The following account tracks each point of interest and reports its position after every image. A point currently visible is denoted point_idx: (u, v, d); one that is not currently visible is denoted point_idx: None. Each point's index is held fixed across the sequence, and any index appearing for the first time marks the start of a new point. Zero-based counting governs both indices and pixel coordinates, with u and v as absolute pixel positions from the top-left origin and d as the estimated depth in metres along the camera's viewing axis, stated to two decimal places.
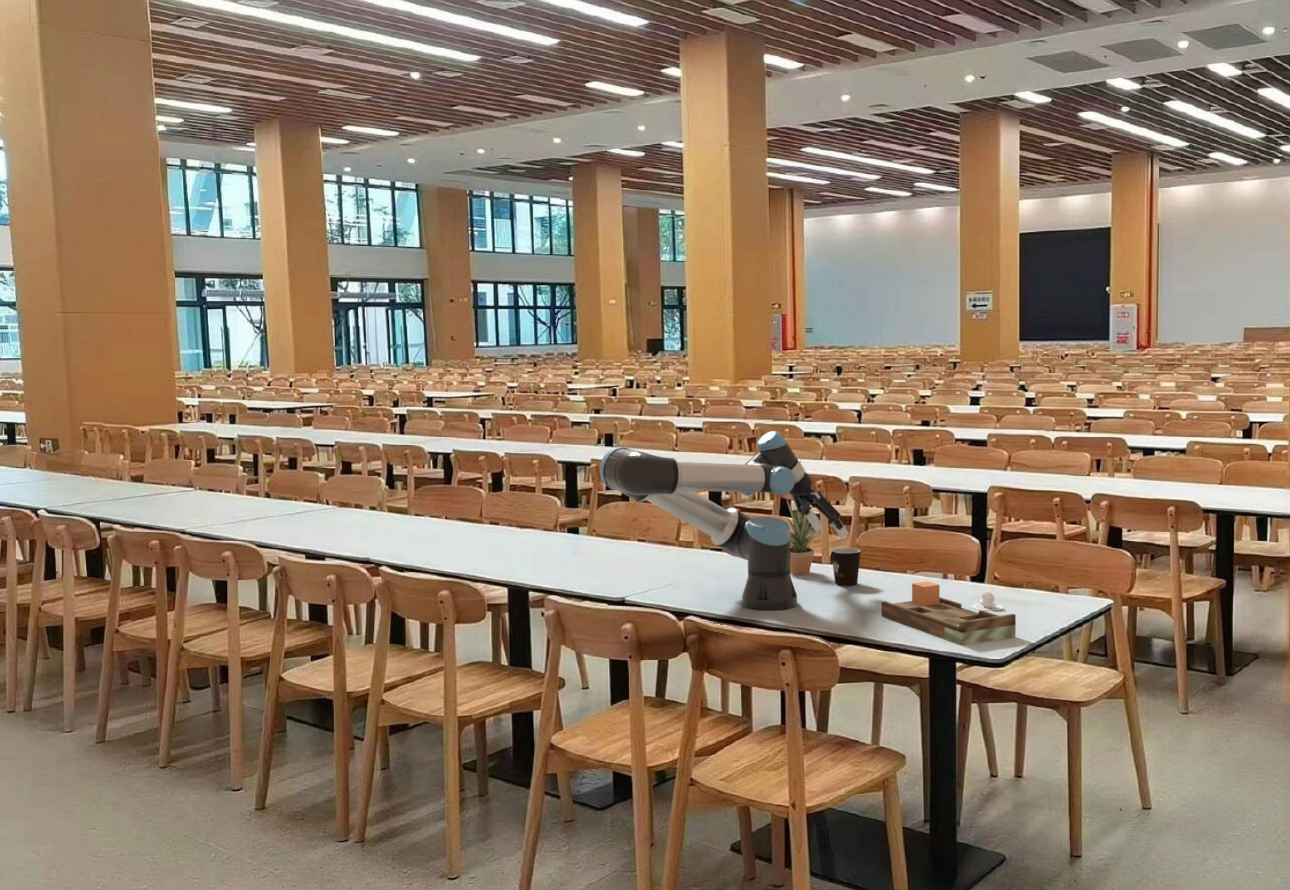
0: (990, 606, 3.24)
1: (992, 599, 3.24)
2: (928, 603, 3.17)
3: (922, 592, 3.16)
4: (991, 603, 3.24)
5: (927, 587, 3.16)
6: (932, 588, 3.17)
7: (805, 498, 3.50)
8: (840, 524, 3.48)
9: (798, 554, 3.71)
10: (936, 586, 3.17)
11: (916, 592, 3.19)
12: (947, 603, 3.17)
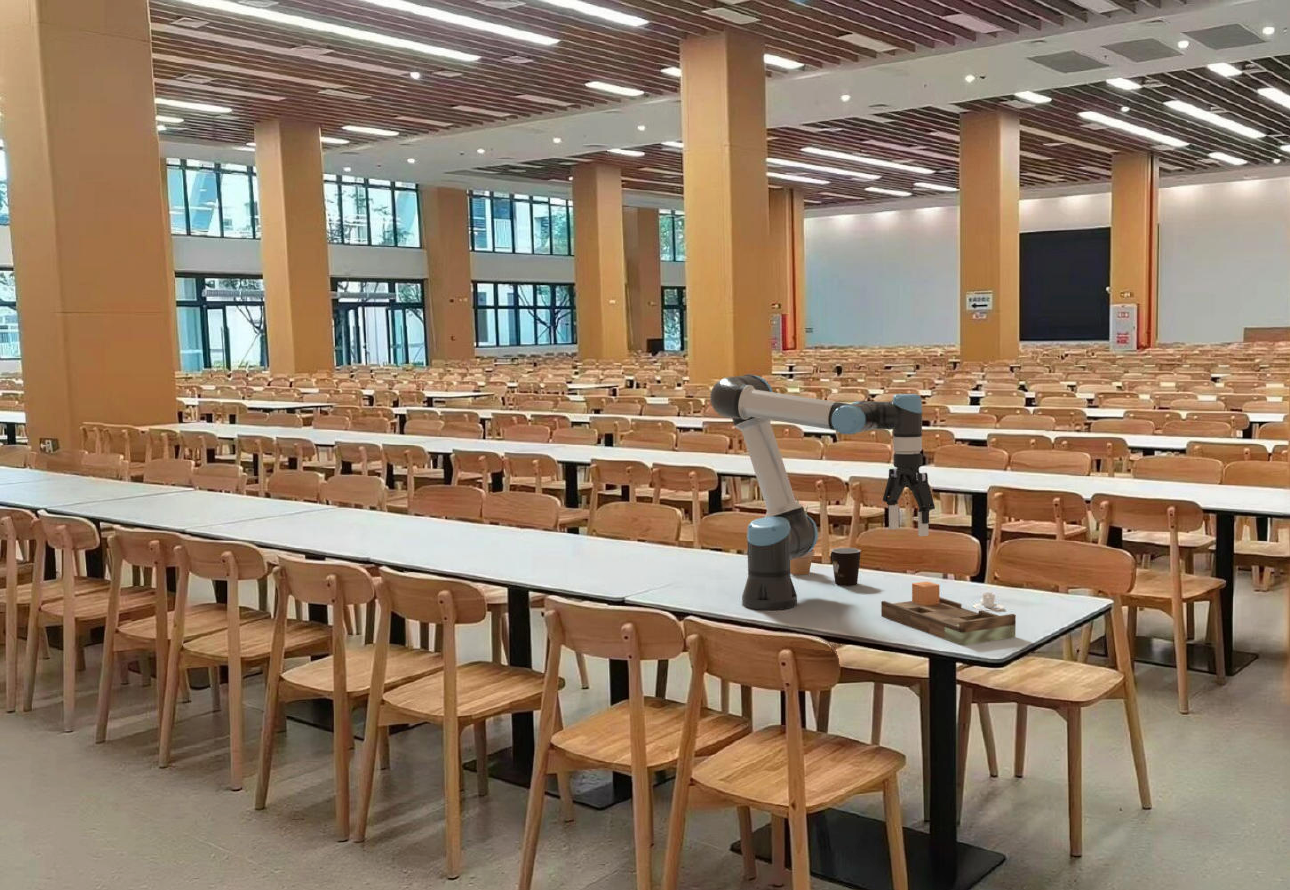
0: (990, 606, 3.24)
1: (992, 599, 3.24)
2: (928, 603, 3.17)
3: (922, 592, 3.16)
4: (991, 603, 3.24)
5: (927, 587, 3.16)
6: (932, 588, 3.17)
7: (907, 476, 3.21)
8: (927, 518, 3.17)
9: None
10: (936, 586, 3.17)
11: (916, 592, 3.19)
12: (947, 603, 3.17)
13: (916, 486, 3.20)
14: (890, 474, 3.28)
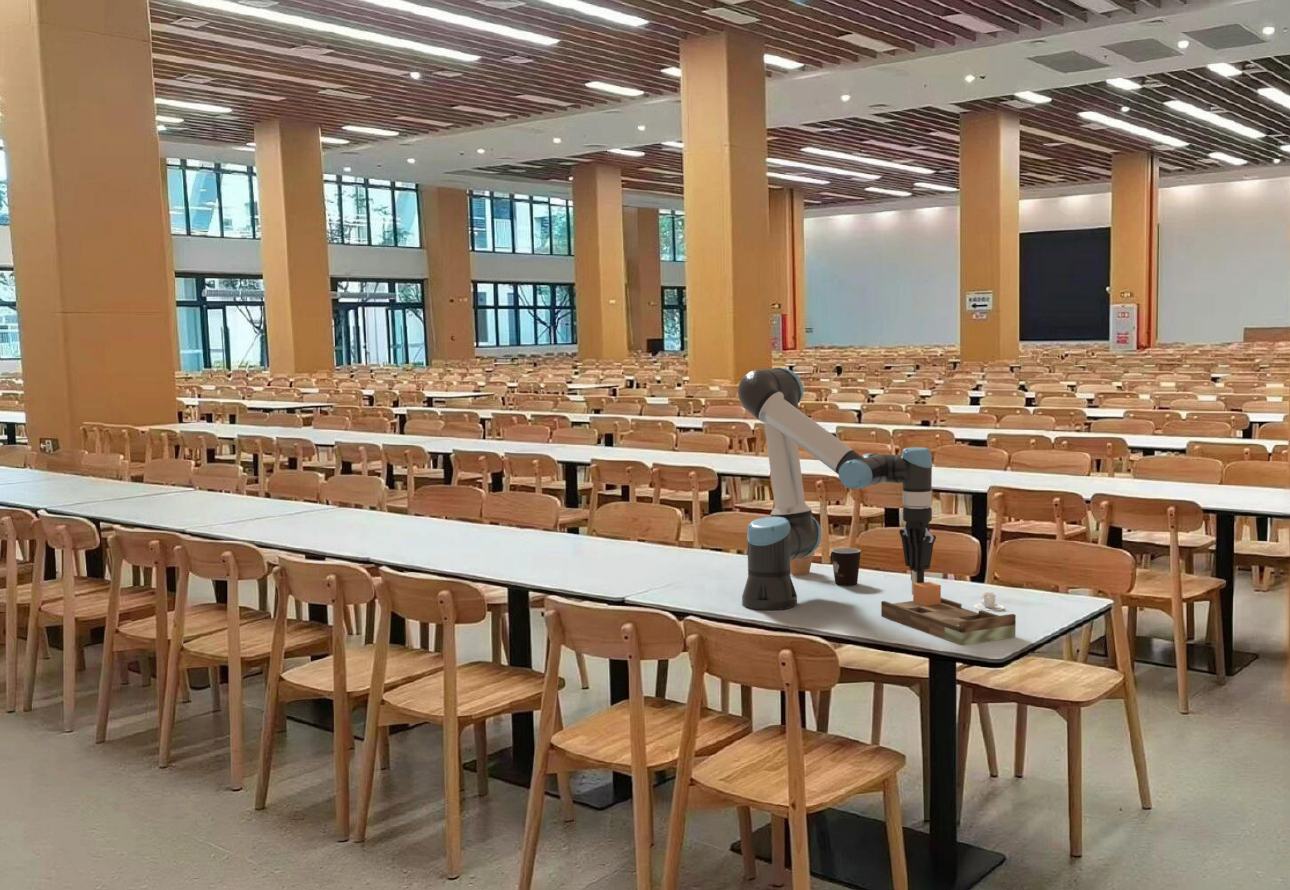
0: (991, 606, 3.24)
1: (993, 599, 3.24)
2: (929, 603, 3.16)
3: (923, 592, 3.16)
4: (992, 603, 3.24)
5: (928, 587, 3.16)
6: (933, 588, 3.16)
7: (916, 532, 3.19)
8: (922, 578, 3.21)
9: None
10: (937, 586, 3.17)
11: (917, 593, 3.18)
12: (947, 603, 3.17)
13: (921, 544, 3.20)
14: (902, 534, 3.25)
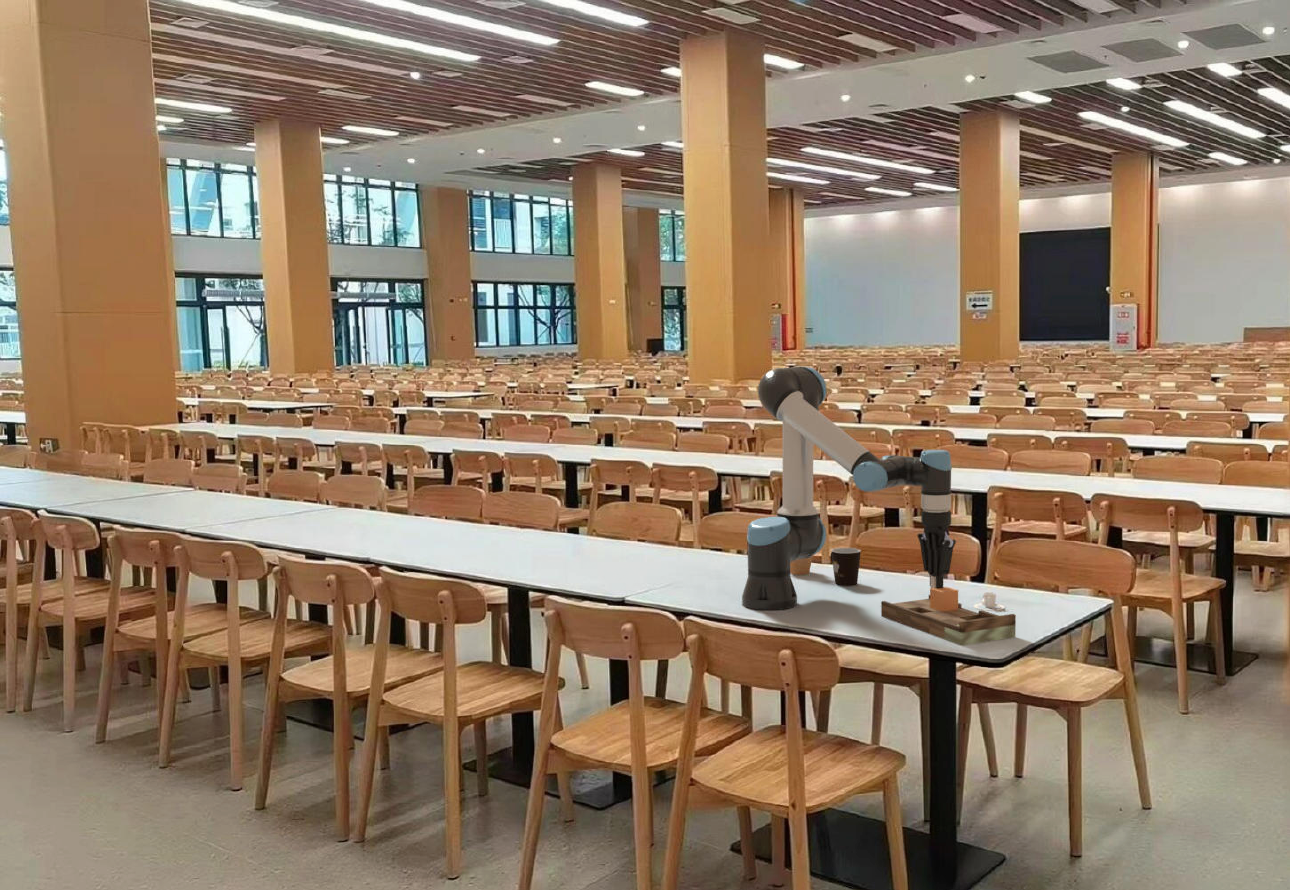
0: (992, 606, 3.24)
1: (994, 599, 3.24)
2: (947, 609, 3.10)
3: (941, 598, 3.09)
4: (993, 603, 3.24)
5: (946, 593, 3.09)
6: (951, 594, 3.10)
7: (935, 536, 3.11)
8: (941, 583, 3.13)
9: None
10: (955, 591, 3.10)
11: (934, 598, 3.12)
12: None
13: (940, 548, 3.12)
14: (920, 538, 3.18)
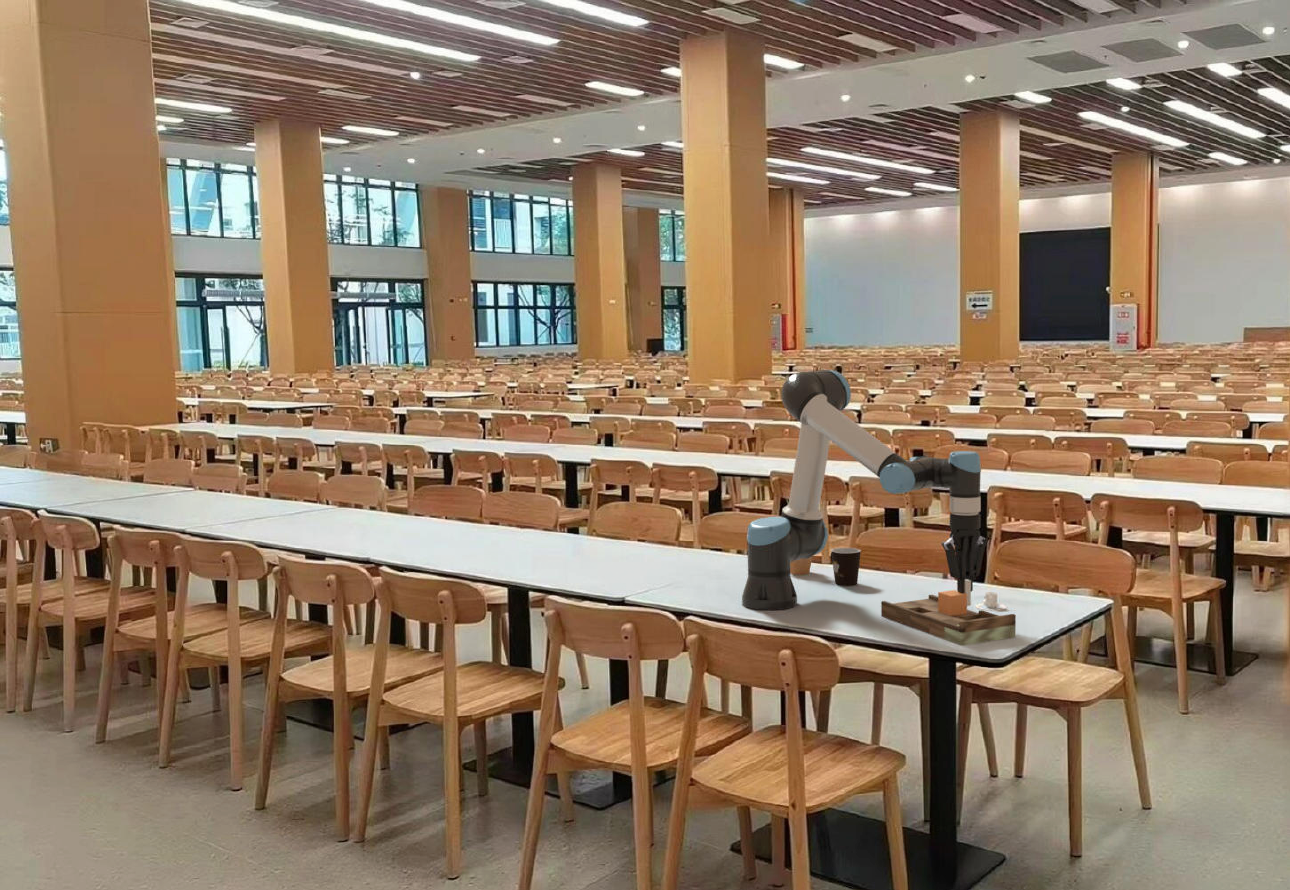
0: (993, 606, 3.25)
1: (995, 599, 3.24)
2: (955, 613, 3.05)
3: (949, 601, 3.05)
4: (994, 603, 3.24)
5: (954, 596, 3.05)
6: (959, 597, 3.05)
7: None
8: None
9: None
10: (963, 595, 3.06)
11: (943, 602, 3.07)
12: None
13: None
14: (951, 547, 3.04)
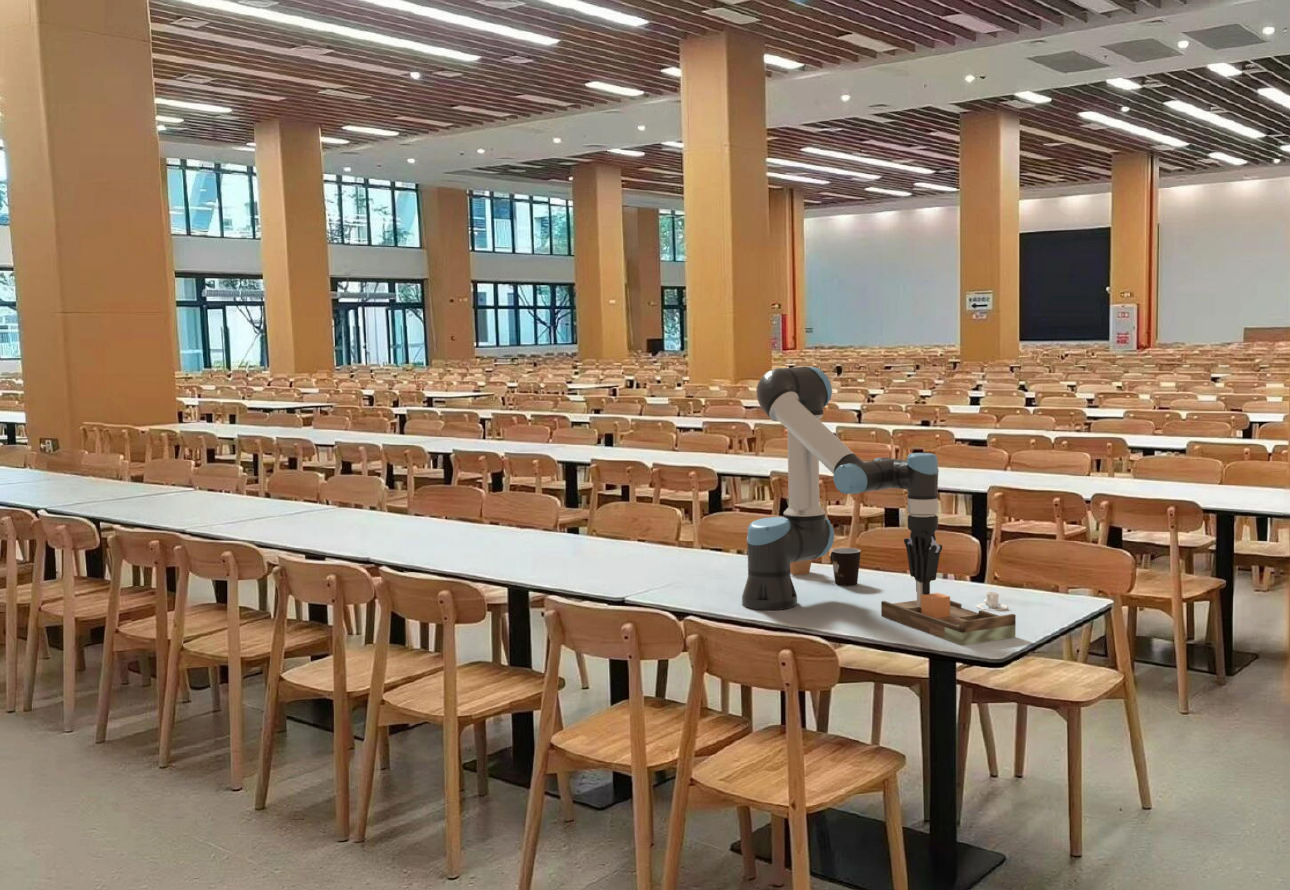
0: (994, 606, 3.25)
1: (996, 599, 3.24)
2: (938, 616, 3.03)
3: (932, 604, 3.02)
4: (995, 603, 3.24)
5: (937, 599, 3.02)
6: (942, 600, 3.03)
7: (922, 542, 3.05)
8: (928, 589, 3.07)
9: None
10: (946, 598, 3.03)
11: (926, 604, 3.05)
12: None
13: (927, 554, 3.06)
14: (906, 543, 3.12)
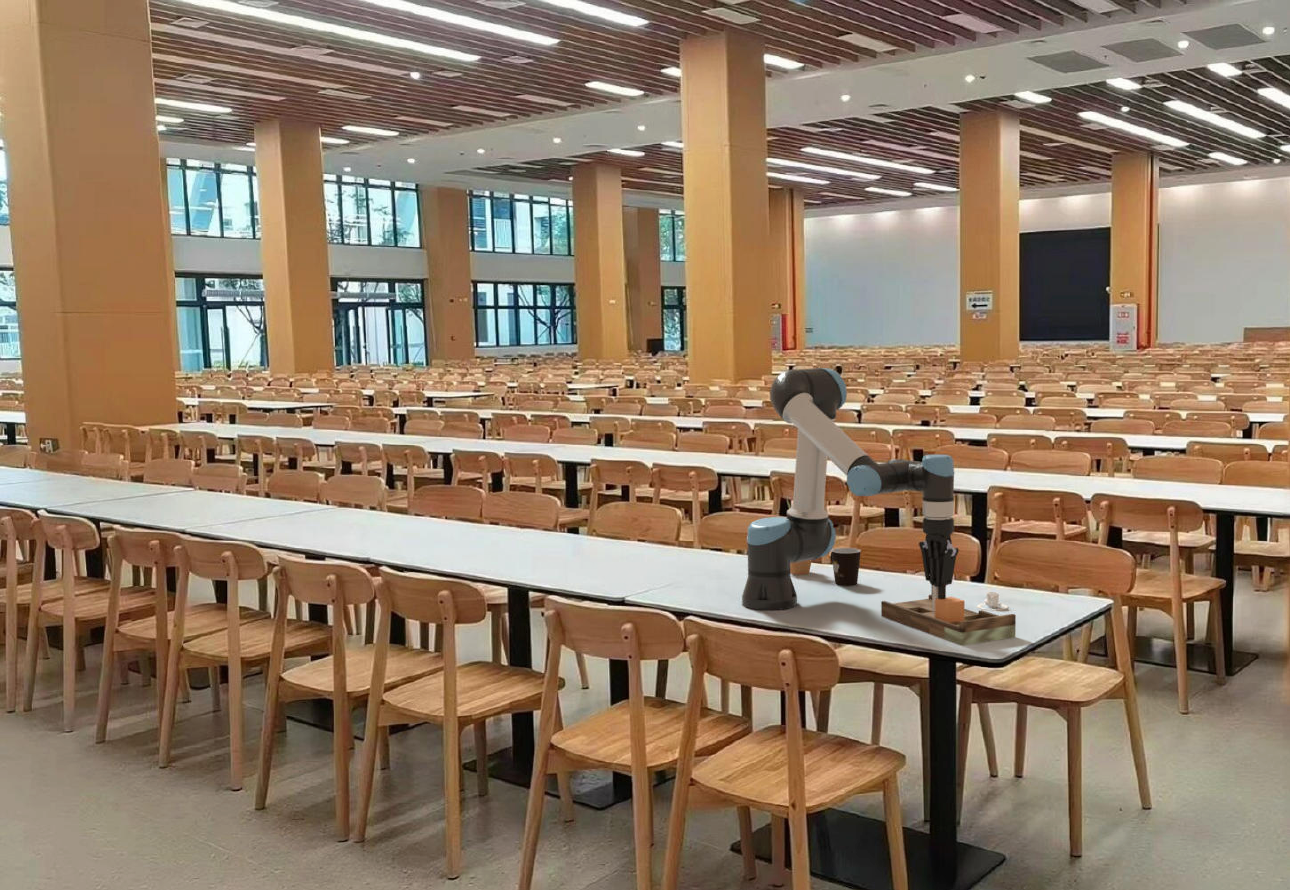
0: (995, 606, 3.25)
1: (997, 599, 3.24)
2: (953, 620, 2.98)
3: (946, 608, 2.97)
4: (996, 603, 3.24)
5: (952, 603, 2.97)
6: (957, 604, 2.98)
7: (937, 545, 2.99)
8: (944, 593, 3.01)
9: None
10: (961, 602, 2.99)
11: (940, 609, 3.00)
12: None
13: (942, 557, 3.00)
14: (921, 547, 3.06)
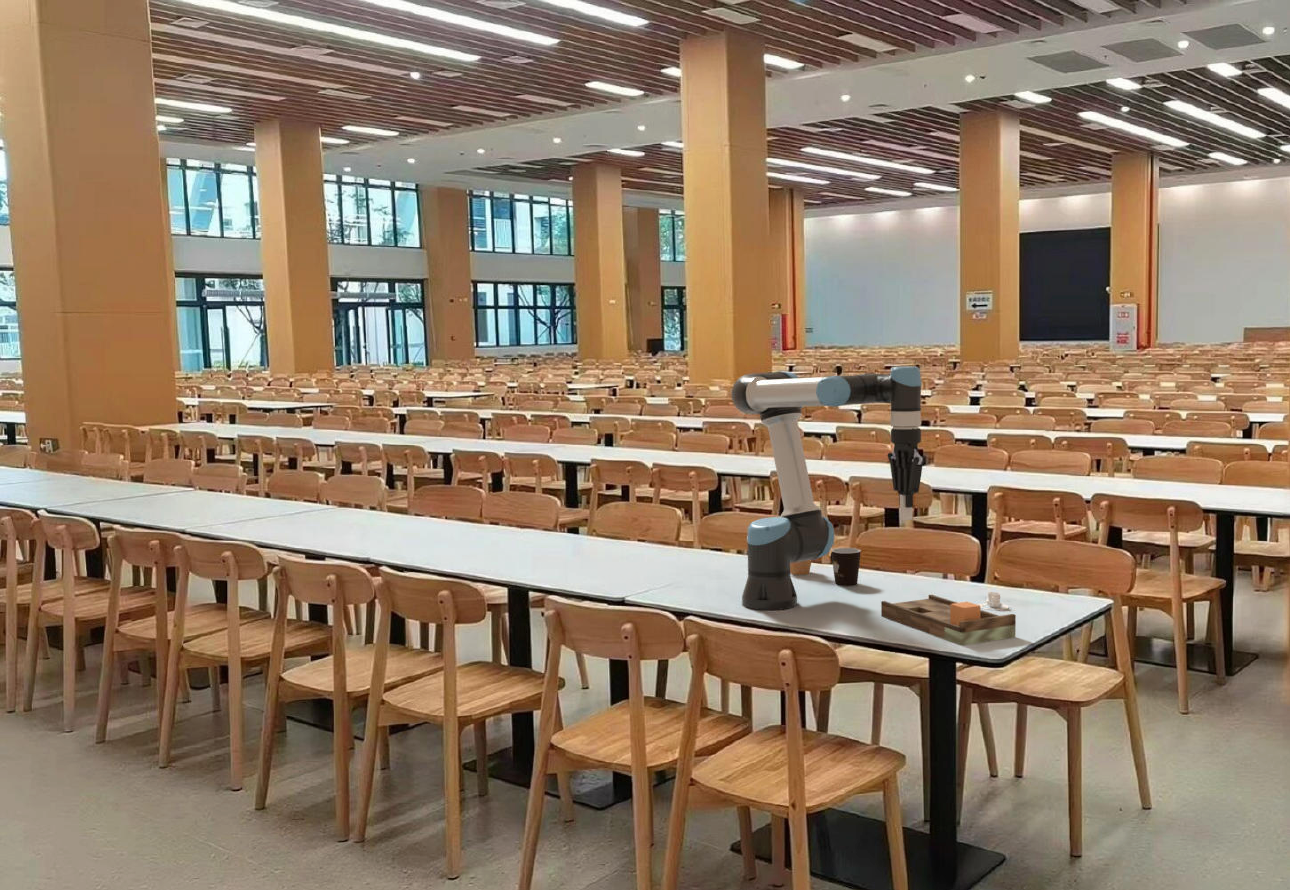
0: (996, 606, 3.25)
1: (998, 599, 3.25)
2: None
3: (962, 614, 2.92)
4: (997, 603, 3.25)
5: (967, 608, 2.92)
6: (973, 609, 2.93)
7: (905, 454, 3.06)
8: (911, 502, 3.08)
9: None
10: (977, 607, 2.93)
11: (955, 614, 2.94)
12: (947, 603, 3.17)
13: (910, 466, 3.07)
14: (890, 458, 3.13)
